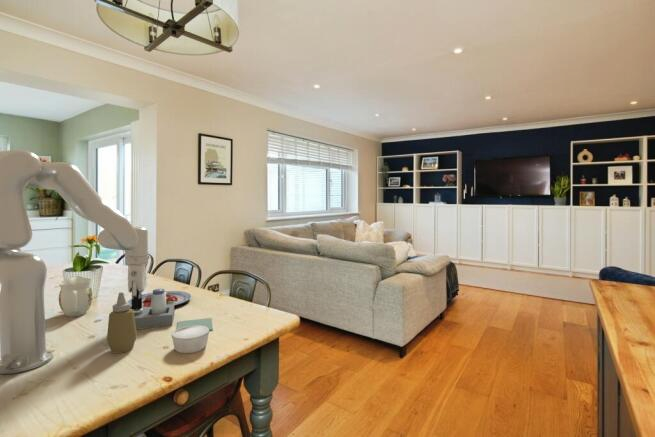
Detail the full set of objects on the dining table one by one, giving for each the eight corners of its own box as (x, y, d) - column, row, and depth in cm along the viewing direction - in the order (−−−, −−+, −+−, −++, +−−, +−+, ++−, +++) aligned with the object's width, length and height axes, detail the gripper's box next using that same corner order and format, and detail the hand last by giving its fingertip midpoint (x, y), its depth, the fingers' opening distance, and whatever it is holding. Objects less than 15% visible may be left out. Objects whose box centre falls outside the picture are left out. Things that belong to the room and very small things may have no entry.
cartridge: (165, 322, 128) (165, 291, 127) (150, 324, 126) (150, 292, 125) (166, 318, 133) (166, 287, 132) (152, 319, 131) (152, 288, 130)
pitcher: (56, 323, 125) (55, 287, 124) (61, 310, 140) (60, 277, 139) (92, 318, 131) (91, 283, 131) (93, 306, 146) (92, 274, 145)
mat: (212, 330, 121) (212, 329, 121) (176, 334, 117) (176, 333, 117) (211, 319, 132) (211, 317, 132) (178, 322, 128) (178, 321, 128)
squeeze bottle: (131, 341, 111) (130, 287, 110) (141, 348, 106) (140, 292, 105) (102, 350, 104) (101, 293, 103) (112, 358, 99) (111, 298, 98)
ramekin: (190, 337, 115) (190, 322, 114) (216, 343, 111) (216, 327, 110) (163, 351, 104) (163, 335, 104) (191, 358, 100) (191, 340, 100)
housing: (174, 314, 137) (174, 305, 136) (172, 325, 126) (172, 314, 125) (129, 319, 131) (129, 309, 131) (122, 330, 120) (122, 319, 120)
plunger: (142, 322, 125) (141, 310, 125) (129, 323, 124) (129, 311, 124) (143, 318, 129) (143, 307, 129) (131, 320, 128) (131, 308, 128)
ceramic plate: (121, 302, 153) (121, 295, 153) (180, 292, 170) (180, 286, 170) (135, 317, 134) (134, 310, 134) (199, 304, 151) (199, 298, 151)
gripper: (144, 263, 120) (145, 314, 121) (150, 256, 134) (150, 302, 135) (120, 264, 117) (121, 316, 118) (128, 257, 131) (129, 304, 132)
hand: (136, 308), depth 126 cm, fingers closed
